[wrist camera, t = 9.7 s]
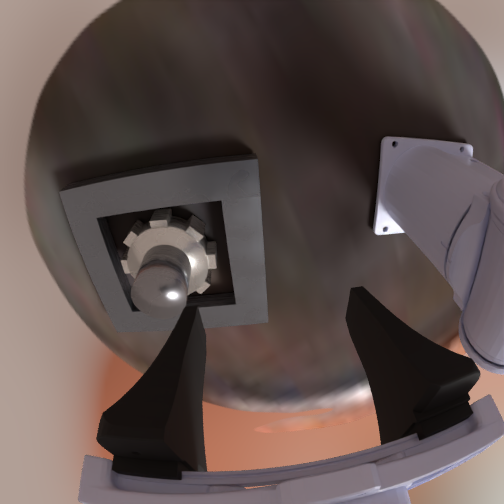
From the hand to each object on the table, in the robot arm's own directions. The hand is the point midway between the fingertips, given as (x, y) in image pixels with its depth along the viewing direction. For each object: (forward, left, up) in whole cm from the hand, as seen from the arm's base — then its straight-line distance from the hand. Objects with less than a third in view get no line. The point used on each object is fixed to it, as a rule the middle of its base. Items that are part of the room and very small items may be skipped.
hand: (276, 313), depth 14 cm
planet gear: (+7, +2, -9) cm, 12 cm away
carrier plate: (+7, +2, -9) cm, 12 cm away
